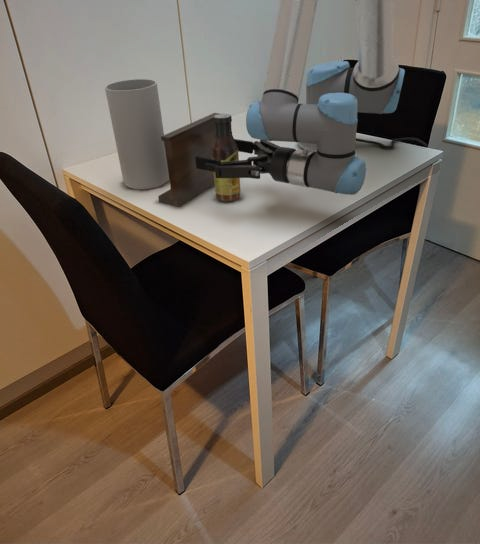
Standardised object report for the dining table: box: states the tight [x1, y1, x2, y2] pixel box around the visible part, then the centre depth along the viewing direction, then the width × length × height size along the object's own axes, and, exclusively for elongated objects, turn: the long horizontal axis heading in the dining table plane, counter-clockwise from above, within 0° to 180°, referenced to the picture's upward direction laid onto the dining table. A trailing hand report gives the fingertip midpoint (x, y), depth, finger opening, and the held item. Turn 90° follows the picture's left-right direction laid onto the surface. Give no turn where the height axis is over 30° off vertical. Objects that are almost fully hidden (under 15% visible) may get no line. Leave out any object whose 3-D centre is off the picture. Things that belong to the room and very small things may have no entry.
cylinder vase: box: [104, 78, 170, 190], centre depth 125 cm, size 12×12×25 cm
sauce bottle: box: [212, 113, 241, 202], centre depth 114 cm, size 7×6×20 cm
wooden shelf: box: [157, 112, 221, 208], centre depth 120 cm, size 6×21×17 cm, turn 147°
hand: (213, 152), depth 115 cm, fingers open, 13 cm apart
